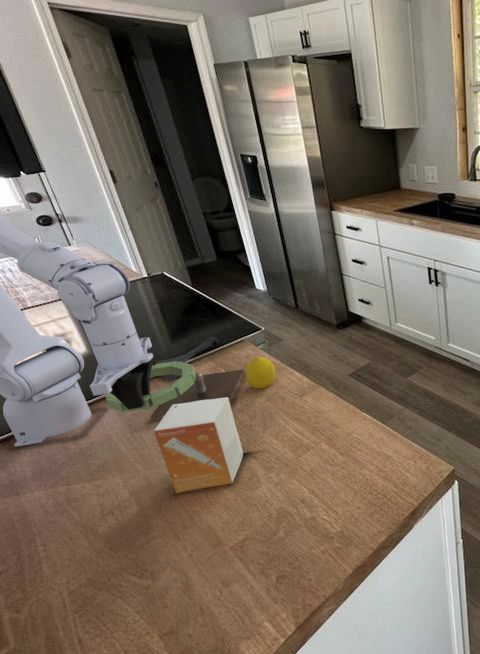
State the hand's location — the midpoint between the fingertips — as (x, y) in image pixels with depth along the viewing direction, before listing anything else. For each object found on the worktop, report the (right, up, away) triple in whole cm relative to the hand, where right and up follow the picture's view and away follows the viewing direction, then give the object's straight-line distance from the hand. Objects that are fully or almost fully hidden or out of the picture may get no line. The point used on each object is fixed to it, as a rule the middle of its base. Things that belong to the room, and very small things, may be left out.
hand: (138, 403), depth 73 cm
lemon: (+12, -3, +18) cm, 21 cm away
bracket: (-12, +2, +27) cm, 30 cm away
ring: (-2, +1, +5) cm, 5 cm away
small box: (+16, -11, -4) cm, 20 cm away
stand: (0, -3, +15) cm, 15 cm away
